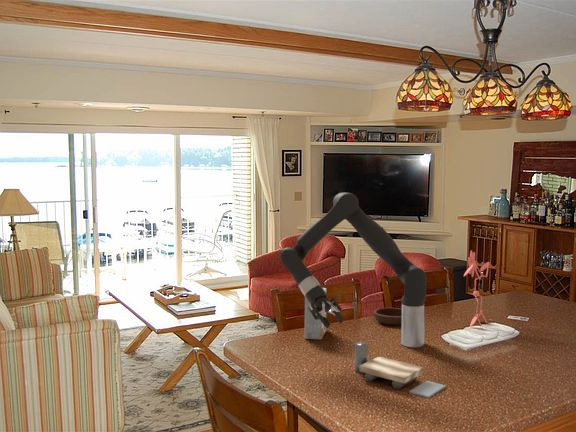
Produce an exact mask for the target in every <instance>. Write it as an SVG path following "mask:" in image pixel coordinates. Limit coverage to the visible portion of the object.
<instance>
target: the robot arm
mask: <svg viewBox="0 0 576 432" xmlns="http://www.w3.org/2000/svg"><path fill="white" fill-rule="evenodd" d="M332 204H333V205H332V207H331V209H330V210H329V211H328V212H327V213H326V214H325V215H323V216H322V217H321V218H320V219H318V220H317V221H316V222H314V223H313V224H312V225H310V226H309V227H308V228H307V229H306V230H304V232H303V233H302V234H301V235H300V236H299V237H298V238H297V239H296V243H295V245H294V246H293V247H290V246H289V247H284V248H282V249H281V251H280V253H279V259H280V262H281V263H282V264H283V266H284V267H285V268H286V269H287V271H288V272H289V273H290V275H291V276H292V278H293V280H294V281H295V283H296V284H297V286H298V288H299V289H300V291H301V293H302V294H303V295H304V298H305V297H306V299H307V300H308V302H309V303H310V306H309V307H308V309H309V310H310V312H311V313H312V315H313V317H314V318H315V320H320V321H321V322H322V323H323V325H324V326H325V327H326V329H328V328H330V327H331V326H332V325H331V323H330V321H329V320H328V318H327V316H326V317H325V312H326V313H329V314H332V315H333V316H334V317H335V318H336V320H337V322H338V323H339V324H343V322H345V319H344V317H343V315H342V314H341V313H340V312H341V311H342V309H343V308H342V307H341V306H340V305H339V303H338V302H337V301H336V300H335V298H334V297H331V298H330V299H328V298H327V291H326V292H325V291H324V289H323V288H324V287H322V285H321V284H320V282H319V281H318V279H317V278H316V277H315V276H314V275H313V274H312V272H311V270H310V269H309V268H308V266H306V265H305V264H304V262H303V261H304V259H306V257H307V255H308V254H309V253H310V251H312V249H314V247H315V246H316V245H318V243H319V242H320V241H322V240H323V239H324V238H325V237H326V236H327V235H328V234H329V233H330V232H331V231H332V230H333V229H334V228H336V226H338V225H339V224H340V223H342V222H343V221H344V220H346V221H347V222H348V223H349V224H350V226H352V227H353V229H355V232H356V233H358V235H359V236H360V237H361V239H362V240H363V241H364V243H366V244H367V246H368V247H369V248H370V249H371V250H372V251H373V252H374V253H375V254H376V255H377V256H378V257H379V258H380V259H381V260H382V261H384V262H385V263H386V264H388V266H389V267H390V268H391V269H392V270H393V272H394V273H395V274H396V276H397V277H398V279H399V281H400V282H401V283H403V285H404V292H403V293H404V294H403V295H402V297H401V309H402V324H401V333H400V334H401V336H400V337H401V340H400V341H401V345H402V346H404V347H408V348H421V347H424V345H425V300H426V298H427V281H428V280H427V275H426V272H425V271H424V270H423V269H422V268H420V267H419V266H417V265H415V264H414V263H413V262H411V261H410V260H409V259H408V258H407V257H406V255H404V254H403V253H402V251H401V250H400V248H399V247H398V245H397V243H396V241H394V239H393V238H392V237H391V235H390V234H389V233H388V231H386V230H385V228H383V227H382V226H381V225H380V224H379V223H377V222H376V221H375V220H374V219H372V218H371V217H370V216H369V215H367V214H366V213H365V212H364V210H362V209H361V207H360V206H359V205H360V204H359V199H358V197H357V196H356V195H355V194H353V193H351V192H347V191H346V192H339V193H338V194H336V195H335V196H334V197H333V200H332ZM315 313H316V314H317V316H316V314H315Z"/></svg>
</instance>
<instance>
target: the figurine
mask: <svg viewBox="0 0 576 432" xmlns="http://www.w3.org/2000/svg"><path fill="white" fill-rule="evenodd" d="M467 261H468V262H467V264H468V268H467V270H466V271H465V272H464V274H463V277H466V276H467V275H468V274H469V275H471V278H474V274H475V273H476V275H477V278H474V291H473V293H472V294H473V296H474V297H475V299H476V301H477V305H476V311H475V312H476V313H475V316H473V318H472V320H471V322H470V325H469V327H470V326H471V327H472V326H474V325H475V323H476V321H478V323H479V325H480V327H481V325H482V324H481V321H480V319H479V317H480V316H482V318H483V319H484V322H485V323H486V324H488V321H487V319H486V317H485V315H484V313H483V312H484V310H483V309H481V310H480V311H479V313H478V308H479V300H478V298H477V297H480V300H481V301H480V308H482V307H483V297H482V296H481V295H480V292H479V291H478V290H477V289H476V287H477V280H479V281H480V280H481V278H482V277H484V278H488V274H489V267H490V264H491V263H490V261H487V262H485V263H484V264H483V265H482V266H481V267H480V268H479V266H478V265H477V261H476V252H475V251H474V252H473V250H470V252H469V256H468V258H467ZM484 270H486V274H485V275H484V274H483V273H482V272H483V271H484ZM478 272H479V273H478ZM479 274H480V275H479ZM459 320H461V319H457V320H456V319H455V322H456V321H459ZM488 320H490V321H492V319H491V318H490V319H488ZM455 327H456V328H458V329H459V328H460V327H459V326H457V325H455Z"/></svg>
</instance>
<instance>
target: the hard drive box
mask: <svg viewBox="0 0 576 432" xmlns="http://www.w3.org/2000/svg"><path fill="white" fill-rule="evenodd" d="M322 288H323V289H324V291H325V292H326V293H327V287H322ZM309 306H310V303H309V302H308V300H307V299H306V297H305V296H304V339H306V340H319V341H320V340H322V339H323V337H324V335H325V333H326V331H327V328H326V327H325V326H324V325H323V323H322V322H321V321H320V320H315V318H314V317H313V315H312V313H311V312H310V310H309V309H308V307H309ZM315 314H316V313H315ZM316 316H317V314H316ZM325 317H326V318H327V312H325Z"/></svg>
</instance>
